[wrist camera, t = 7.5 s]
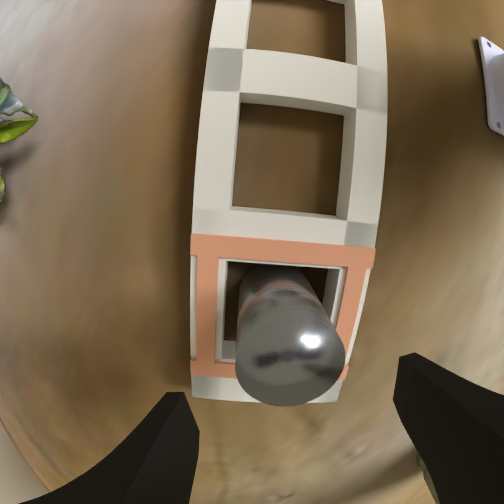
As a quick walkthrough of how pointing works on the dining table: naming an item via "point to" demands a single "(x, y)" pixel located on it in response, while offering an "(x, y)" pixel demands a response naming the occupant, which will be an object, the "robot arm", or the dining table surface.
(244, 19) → the hole rail
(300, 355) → the metal peg
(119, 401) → the dining table surface
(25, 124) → the passion flower
